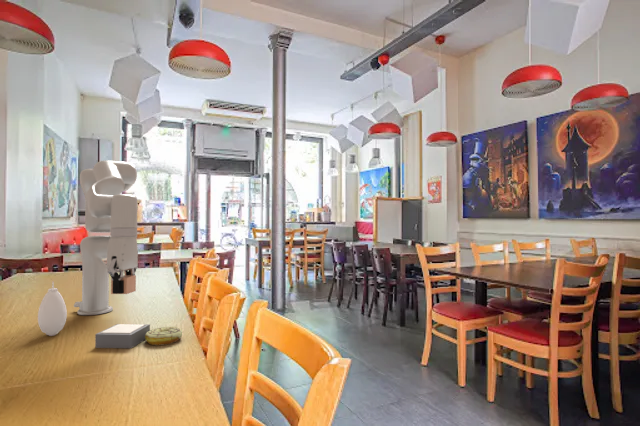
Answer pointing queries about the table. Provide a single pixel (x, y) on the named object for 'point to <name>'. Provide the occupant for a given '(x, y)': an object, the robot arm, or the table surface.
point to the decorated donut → (163, 335)
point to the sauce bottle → (52, 312)
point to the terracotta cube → (127, 284)
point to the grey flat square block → (121, 336)
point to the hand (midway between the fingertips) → (123, 291)
